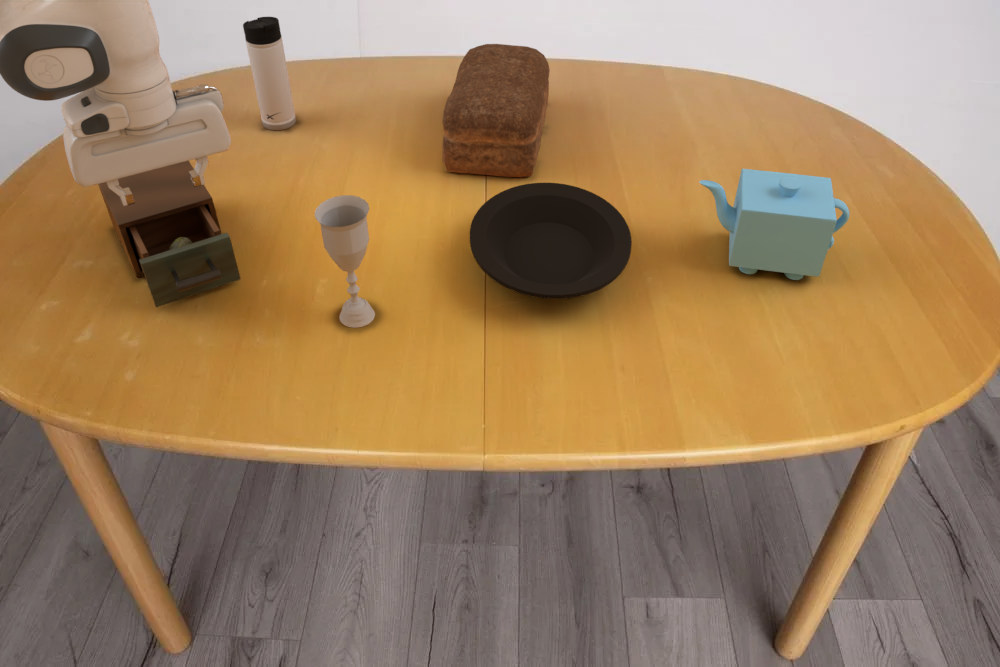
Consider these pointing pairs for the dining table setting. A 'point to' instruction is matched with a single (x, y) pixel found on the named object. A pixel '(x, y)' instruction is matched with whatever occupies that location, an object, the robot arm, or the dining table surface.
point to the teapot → (779, 222)
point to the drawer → (183, 255)
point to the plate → (550, 240)
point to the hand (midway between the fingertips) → (164, 193)
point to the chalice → (347, 249)
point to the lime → (180, 242)
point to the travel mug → (270, 72)
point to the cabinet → (154, 201)
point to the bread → (496, 111)
